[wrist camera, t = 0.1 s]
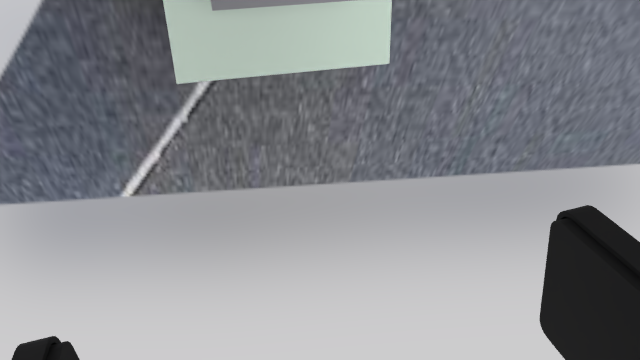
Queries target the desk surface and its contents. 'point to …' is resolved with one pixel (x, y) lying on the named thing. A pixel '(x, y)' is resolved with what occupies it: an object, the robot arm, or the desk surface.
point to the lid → (274, 36)
